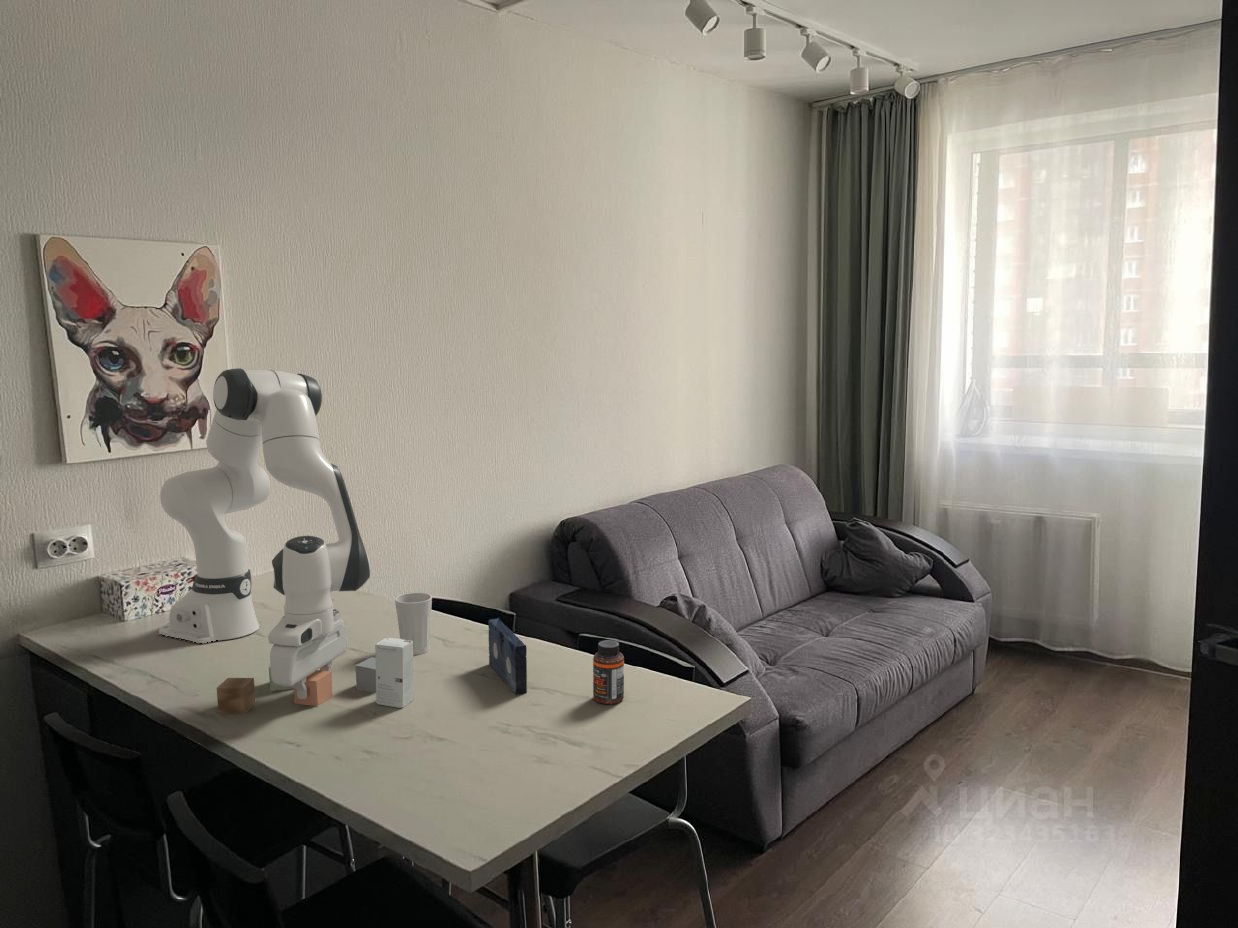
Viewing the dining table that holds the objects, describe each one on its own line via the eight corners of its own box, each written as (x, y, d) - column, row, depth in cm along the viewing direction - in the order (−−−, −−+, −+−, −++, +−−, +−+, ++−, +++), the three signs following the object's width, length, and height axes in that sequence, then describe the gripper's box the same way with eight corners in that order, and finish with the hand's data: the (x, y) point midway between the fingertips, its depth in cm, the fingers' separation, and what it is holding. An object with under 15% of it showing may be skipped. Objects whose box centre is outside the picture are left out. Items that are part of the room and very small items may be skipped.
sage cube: (270, 691, 187) (268, 667, 186) (272, 681, 192) (271, 658, 191) (296, 688, 188) (295, 664, 187) (298, 679, 193) (297, 656, 192)
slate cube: (356, 689, 188) (355, 665, 187) (373, 680, 192) (372, 657, 191) (376, 693, 185) (375, 669, 185) (392, 684, 190) (391, 660, 189)
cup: (438, 644, 213) (436, 592, 211) (427, 656, 205) (425, 603, 203) (403, 643, 214) (401, 591, 212) (392, 655, 206) (389, 602, 204)
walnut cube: (218, 713, 176) (216, 687, 176) (229, 702, 181) (227, 677, 181) (244, 713, 176) (243, 687, 176) (255, 702, 181) (253, 677, 181)
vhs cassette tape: (527, 693, 185) (526, 645, 183) (513, 696, 184) (512, 647, 182) (502, 662, 202) (501, 617, 200) (488, 664, 201) (487, 619, 199)
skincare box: (375, 705, 180) (372, 644, 178) (387, 696, 184) (385, 636, 182) (404, 708, 178) (401, 647, 176) (416, 699, 182) (413, 639, 180)
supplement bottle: (586, 699, 182) (586, 643, 180) (607, 690, 186) (606, 635, 184) (610, 708, 178) (609, 650, 176) (630, 698, 182) (630, 642, 180)
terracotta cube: (295, 703, 181) (293, 678, 180) (310, 693, 185) (308, 669, 185) (317, 706, 179) (316, 681, 179) (332, 695, 184) (331, 671, 183)
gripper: (325, 604, 191) (329, 670, 193) (262, 637, 171) (266, 710, 173) (353, 607, 189) (356, 673, 191) (292, 641, 169) (296, 713, 172)
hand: (313, 691), depth 182 cm, fingers closed on terracotta cube, 5 cm apart
